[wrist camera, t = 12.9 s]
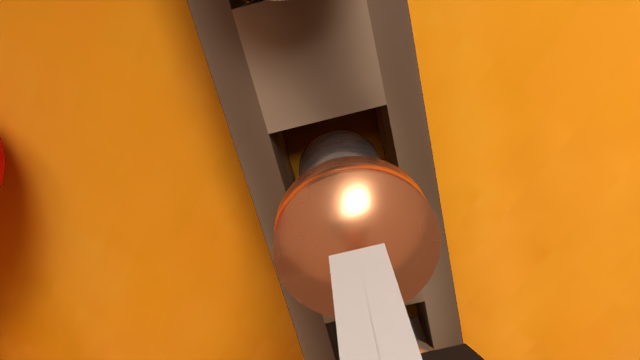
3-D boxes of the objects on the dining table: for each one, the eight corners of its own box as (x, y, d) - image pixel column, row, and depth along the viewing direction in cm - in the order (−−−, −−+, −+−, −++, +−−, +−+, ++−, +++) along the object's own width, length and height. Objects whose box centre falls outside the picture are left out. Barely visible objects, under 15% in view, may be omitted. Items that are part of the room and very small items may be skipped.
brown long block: (325, 369, 31) (330, 436, 27) (156, -175, 20) (113, -221, 15) (447, 342, 31) (473, 405, 26) (344, -229, 20) (359, -294, 15)
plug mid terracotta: (297, 234, 22) (297, 334, 16) (266, 128, 20) (251, 195, 14) (407, 208, 22) (451, 299, 16) (386, 98, 20) (427, 152, 14)
